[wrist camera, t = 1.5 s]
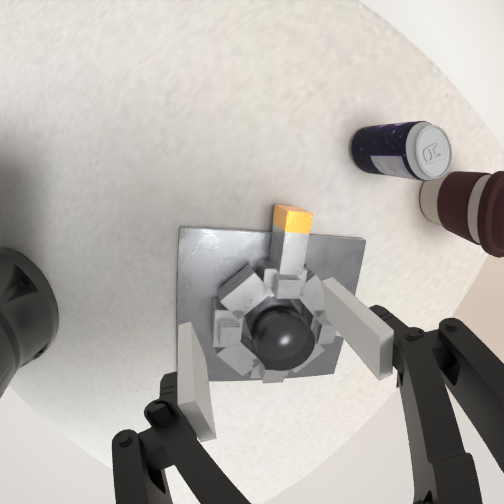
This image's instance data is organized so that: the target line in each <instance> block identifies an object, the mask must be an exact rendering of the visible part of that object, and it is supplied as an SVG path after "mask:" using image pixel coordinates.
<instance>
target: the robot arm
mask: <svg viewBox="0 0 504 504" xmlns="http://www.w3.org/2000/svg"><path fill="white" fill-rule="evenodd" d="M321 283H322V289H323V296H324V302H325V309H326V316H327V319H328V321H329V322H330V323H331V324H332V325H333V326H334V328H335V329H336V330H337V331H338V332H339V334H340V335H341V336H342V337H343V338H344V339H345V341H346V342H347V343H348V344H349V345H350V347H351V348H352V349H353V350H354V351H355V352H356V354H357V355H358V356H359V357H360V358H361V360H362V361H363V362H364V363H365V364H366V366H367V367H368V368H369V369H370V370H371V372H372V373H373V374H374V375H375V376H376V377H377V379H378V380H379V381H380V380H382V379H384V378H386V377H388V376H390V375H392V371H393V366H394V367H395V368H396V369H397V371H398V373H397V386H396V388H397V387H399V388H400V393H401V398H402V403H403V408H404V414H405V420H406V426H407V433H408V439H409V446H410V453H411V461H412V470H413V479H414V491H415V492H414V501H413V504H483V503H482V497H481V492H480V487H479V482H478V477H477V473H476V469H475V464H474V460H473V457H472V455H471V454H470V453H466V452H465V450H464V447H463V443H462V439H461V435H460V432H459V428H458V424H457V421H456V418H455V414H454V411H453V408H452V405H451V402H450V398H449V395H448V392H447V389H446V386H447V387H448V389H449V390H450V392H451V393H452V394H453V396H454V397H455V399H456V400H457V402H458V403H459V404H460V406H461V407H462V409H463V410H464V412H465V413H466V415H467V416H468V418H469V419H470V421H471V422H472V424H473V425H474V427H475V428H476V430H477V431H478V433H479V434H480V436H481V437H482V439H483V441H484V442H485V444H486V445H487V447H488V449H489V450H490V452H491V453H492V455H493V457H494V458H495V460H496V462H497V463H498V465H499V467H500V468H501V470H502V471H503V473H504V364H503V363H502V362H501V361H500V359H499V358H498V357H497V356H496V355H495V354H494V353H493V352H492V351H491V350H490V349H489V348H488V347H487V346H486V345H485V344H484V343H483V342H482V341H481V340H480V339H479V338H478V337H477V336H476V335H475V334H474V333H473V332H472V331H471V330H470V329H469V328H468V327H467V326H466V325H465V324H464V323H463V322H462V321H460V320H458V319H456V318H446V319H444V320H442V321H441V322H440V323H439V329H437V330H433V331H429V332H424V331H423V330H422V329H420V328H416V327H408V326H406V325H405V324H404V323H403V322H402V321H400V320H399V319H398V318H397V317H395V316H394V315H393V314H392V313H390V312H389V311H388V310H387V309H386V308H384V307H381V306H379V305H374V306H372V307H369V308H368V307H367V306H366V305H364V304H363V303H362V302H361V301H360V300H359V299H357V298H356V297H355V296H354V295H353V294H352V293H350V292H349V291H348V290H347V289H346V288H345V287H343V286H342V285H341V284H340V283H339V282H338V281H336V280H335V279H334V278H333V277H332V278H329V279H326V280H323V281H321ZM57 329H58V309H57V304H56V300H55V297H54V295H53V292H52V290H51V288H50V286H49V284H48V282H47V280H46V279H45V277H44V276H43V274H42V273H41V271H40V270H39V269H38V268H37V267H36V266H35V265H34V264H33V263H32V262H31V261H30V260H29V259H28V258H27V257H25V256H24V255H22V254H20V253H19V252H17V251H14V250H12V249H8V248H0V398H1V396H2V394H3V393H4V391H5V389H6V388H7V386H8V384H9V383H10V381H11V379H12V378H13V376H14V374H15V373H16V371H17V370H18V369H19V368H21V367H22V366H24V365H26V364H28V363H29V362H31V361H32V360H34V359H36V358H38V357H39V356H41V355H42V354H43V353H44V352H45V351H46V350H47V349H48V347H49V346H50V344H51V342H52V341H53V339H54V337H55V335H56V332H57ZM445 384H446V386H445ZM144 416H145V417H146V419H147V420H148V422H149V423H150V425H151V426H152V427H150V428H149V429H147V430H145V431H143V432H140V433H138V434H137V433H136V432H135V431H134V430H130V429H128V430H123V431H120V432H119V433H117V434H116V435H115V436H114V438H113V440H112V460H113V475H114V488H115V498H116V504H173V502H172V499H171V495H170V491H169V487H168V483H167V479H166V474H165V470H164V469H165V468H168V467H170V466H172V465H175V466H176V468H177V470H178V471H179V473H180V474H181V476H182V477H183V479H184V480H185V482H186V483H187V485H188V486H189V488H190V489H191V491H192V492H193V494H194V495H195V496H196V498H197V499H198V501H199V502H200V503H201V504H251V503H250V502H249V501H248V500H247V499H246V498H245V497H244V495H243V494H242V493H241V492H240V491H239V490H238V489H237V488H236V487H235V485H234V484H233V483H232V482H231V481H230V480H229V479H228V477H227V476H226V475H225V474H224V473H223V471H222V470H221V469H220V468H219V467H218V465H217V464H216V463H215V462H214V460H213V459H212V458H211V457H210V455H209V454H208V453H207V452H206V450H205V449H204V448H203V447H202V445H201V444H200V443H199V441H198V440H197V437H198V439H199V440H200V442H204V441H208V440H213V439H217V438H216V432H215V426H214V419H213V412H212V405H211V398H210V390H209V383H208V375H207V367H206V358H205V356H204V353H203V351H202V348H201V346H200V343H199V341H198V338H197V336H196V333H195V331H194V328H193V326H192V323H191V322H188V323H184V324H181V325H178V371H177V372H173V373H169V374H165V375H164V376H163V378H162V380H161V382H160V396H159V399H157V400H154V401H152V402H151V403H149V404H148V405H147V406H146V408H145V410H144Z"/></svg>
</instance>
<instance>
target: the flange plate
mask: <svg viewBox="0 0 504 504" xmlns="http://www.w3.org/2000/svg"><path fill="white" fill-rule="evenodd" d="M271 236H272V231H257V230H242V229H226V228H208V227H190V226H180V233H179V255H178V287H177V363H178V325H181V324H184V323H188V322H191V323H192V326H193V328H194V331H195V333H196V336H197V338H198V341H199V343H200V346H201V348H202V351H203V353H204V356H205V358H206V367H207V375H208V381H247V380H262V379H261V378H250V375H249V372H248V373H246V374H245V375H243V376H242V375H240V374H239V373H238V372H237V371H236V370H234V369H233V368H232V367H231V366H229V365H228V364H227V363H226V362H225V361H223V360H222V359H221V358H220V357H219V356H217V355H216V349H215V347H213V343H212V337H211V323H212V306H213V298H219V295H218V289H219V288H220V287H221V286H223V285H224V284H225V283H226V282H227V281H229V280H230V279H231V278H232V277H233V276H234V275H236V274H237V273H238V272H239V271H240V270H242V269H243V268H244V267H245V266H246V265H248V264H249V263H250V265H251V266H252V267H253V268H254V269H255V270H256V271H258V262H259V260H269V252H270V244H271ZM365 244H366V240H365V239H363V238H353V237H340V236H328V235H314V234H309V236H308V242H307V249H306V255H305V262H304V267H305V266H307V267H308V268H309V269H310V270H311V271H313V272H314V273H315V274H316V275H317V277H318V278H319V279H320V281H323V280H326V279H329V278H332V277H333V278H334V279H335V280H336V281H338V282H339V283H340V284H341V285H342V286H343V287H345V288H346V289H347V290H348V291H349V292H350V293H352V294H353V295H354V296H355V292H356V288H357V283H358V279H359V274H360V269H361V265H362V260H363V255H364V250H365ZM303 309H304V304H303V303H302V301H301V300H300V299H278V298H276V297H275V296H268V297H266V298H265V299H264V300H263V301H261V302H260V303H259V304H258V305H257V306H255V307H254V308H253V309H252V310H250V311H249V312H248V313H247V314H245V315H244V316H243V324H242V333H241V334H243V335H244V336H245V337H246V338H247V339H248V340H249V341H250V342H251V343H252V344H253V345H255V348H256V351H257V353H258V356H259V359H260V361H261V362H262V364H263V365H264V366H266V367H267V368H269V369H272V370H275V371H286V370H288V375H287V377H284V378H296V377H308V376H318V375H327V374H334V371H335V367H336V364H337V361H338V357H339V354H340V350H341V347H342V343H343V340H344V338H343V337H342V336H341V335H340V334H339V332H338V331H336V334H335V338H334V342H333V343H327V344H321V346H322V347H323V349H324V350H325V351H324V352H322V353H321V354H320V355H319V356H317V357H316V358H315V359H313V360H312V361H311V362H310V363H308V364H307V365H306V366H304V367H303V368H302V369H300V370H299V371H298V372H297V373H295V372H293V371H292V370H291V369H294V368H296V367H298V366H300V365H301V364H303V363H304V362H305V361H306V360H307V359H308V358H309V357H310V355H311V354H312V352H313V350H314V347H315V336H314V333H313V331H312V330H311V329H310V327H309V326H308V324H307V323H306V322H305V320H304V319H303V317H302V315H303Z"/></svg>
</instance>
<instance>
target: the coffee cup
mask: <svg viewBox="0 0 504 504" xmlns="http://www.w3.org/2000/svg"><path fill="white" fill-rule="evenodd" d="M420 204H421V208H422V211H423V213H424V215H425V216H426V218H427V219H429V220H430V221H431V222H434V223H436V224H438V225H440V226H443V227H444V228H445V229H446V230H448V231H450V232H452V233H454V234H456V235H458V236H460V237H462V238H464V239H466V240H469V241H471V242H473V243H475V244H477V245H481V246H482V248H483V250H484V251H485V252H486V253H488V254H490V255H492V256H495V257H498V258H500V257H504V171H498V172H495V173H494V174H489V173H480V172H461V171H456V172H452V173H447V172H446V174H445V175H443V176H442V177H440V178H435V179H433V180H431V181H425V182H424V184H423V186H422V189H421V194H420Z"/></svg>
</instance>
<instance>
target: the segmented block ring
mask: <svg viewBox="0 0 504 504" xmlns="http://www.w3.org/2000/svg"><path fill="white" fill-rule="evenodd" d="M311 220H312V213H310V212H308V211H306V210H304V209H302V208H299V207H297V206H288V205H277V204H275V207H274V215H273V228H272V236H271V244H270V252H269V260H259V262H258V271H256V270H255V269H254V268H253V267H252V266H251V265H250V263H249V264H248V265H246V266H245V267H244V268H243V269H242V270H240V271H239V272H238V273H237V274H236V275H234V276H233V277H232V278H231V279H230V280H229V281H227V282H226V283H225V284H224V285H223V286H221V287H220V288H219V289H218V295H219V298H213V306H212V323H211V337H212V343H213V347H215V349H216V355H217V356H219V357H220V358H221V359H222V360H223V361H225V362H226V363H227V364H228V365H229V366H231V367H232V368H233V369H234V370H236V371H237V372H238V373H239V374H240V375H242V376H243V375H245V374H246V373H248V372H249V375H250V378H261V379H262V382H263V383H276V382H283V379H284V377H287V375H288V370H286V371H275V370H272V369H269V368H267V367H266V366H264V365H263V364H262V362H261V361H260V359H259V356H258V353H257V351H256V348H255V345H253V344H252V343H251V342H250V341H249V340H248V339H247V338H246V337H245V336H244V335H243V334H241V333H242V324H243V316H244V315H245V314H247V313H248V312H249V311H250V310H252V309H253V308H254V307H255V306H257V305H258V304H259V303H260V302H261V301H263V300H264V299H265V298H266V297H268V296H275V297H276V298H278V299H300V300H301V301H302V303H303V304H304V309H303V315H302V317H303V319H304V320H305V322H306V323H307V324H308V326H309V327H310V329H311V330H312V331H313V333H314V336H315V347H314V350H313V352H312V354H311V355H310V357H309V358H308V359H307V360H306V361H305V362H304V363H303V364H301V365H300V366H298V367H296V368H294V369H291V370H292V371H293V372H295V373H297V372H298V371H299V370H300V369H302V368H303V367H304V366H306V365H307V364H308V363H310V362H311V361H312V360H313V359H315V358H316V357H317V356H319V355H320V354H321V353H322V352H324V351H325V350H324V349H323V347H322V346H321V344H327V343H333V342H334V338H335V334H336V331H337V330H336V329H335V328H334V326H333V325H332V324H331V323H330V322H329V321H328V319H327V316H326V309H325V302H324V296H323V289H322V283H321V281H320V279H319V278H318V277H317V275H316V274H315V273H314V272H313V271H311V270H310V269H309V268H308V267H307V266H305V267H304V262H305V255H306V249H307V242H308V236H309V234H310V227H311Z"/></svg>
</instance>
